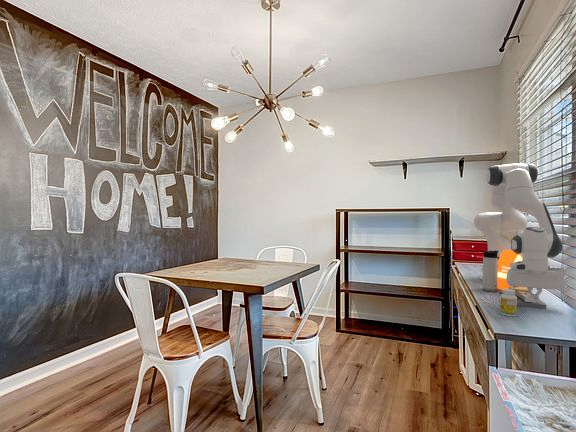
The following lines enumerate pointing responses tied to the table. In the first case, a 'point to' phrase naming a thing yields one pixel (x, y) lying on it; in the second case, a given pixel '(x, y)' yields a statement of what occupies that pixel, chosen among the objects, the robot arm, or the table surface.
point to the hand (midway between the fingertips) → (534, 298)
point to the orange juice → (506, 267)
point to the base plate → (535, 303)
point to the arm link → (524, 296)
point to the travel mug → (490, 270)
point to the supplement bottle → (508, 303)
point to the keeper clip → (519, 289)
